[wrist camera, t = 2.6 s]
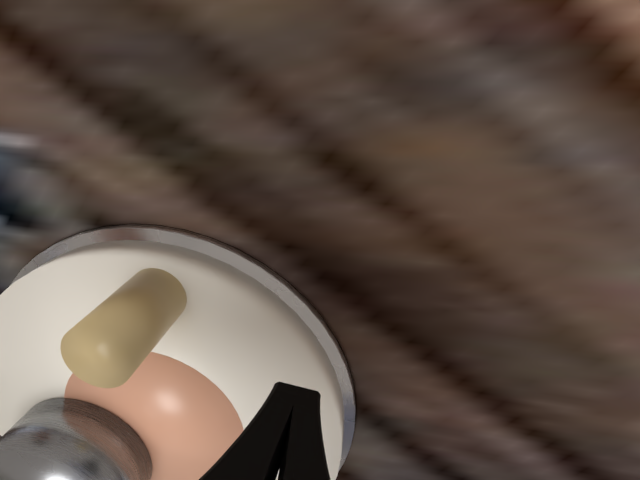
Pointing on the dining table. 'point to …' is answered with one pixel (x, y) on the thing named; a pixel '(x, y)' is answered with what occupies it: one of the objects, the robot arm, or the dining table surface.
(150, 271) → the disc
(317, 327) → the turntable base
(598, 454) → the dining table surface
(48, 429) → the cover
